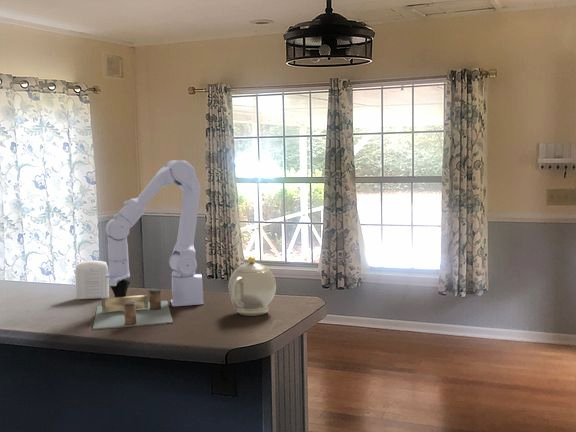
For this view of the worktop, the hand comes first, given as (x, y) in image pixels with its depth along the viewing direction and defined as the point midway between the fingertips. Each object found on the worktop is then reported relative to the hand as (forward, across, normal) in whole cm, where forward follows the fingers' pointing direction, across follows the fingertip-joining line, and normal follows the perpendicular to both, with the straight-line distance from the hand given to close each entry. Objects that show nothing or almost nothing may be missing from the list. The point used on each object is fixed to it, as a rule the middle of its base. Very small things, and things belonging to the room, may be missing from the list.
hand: (120, 305), depth 192 cm
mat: (+2, +4, +5) cm, 7 cm away
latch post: (+2, +16, +7) cm, 17 cm away
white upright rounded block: (+2, -19, -15) cm, 24 cm away
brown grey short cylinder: (+2, -1, +10) cm, 10 cm away
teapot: (+2, +6, +39) cm, 39 cm away
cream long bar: (+1, +2, +2) cm, 2 cm away
